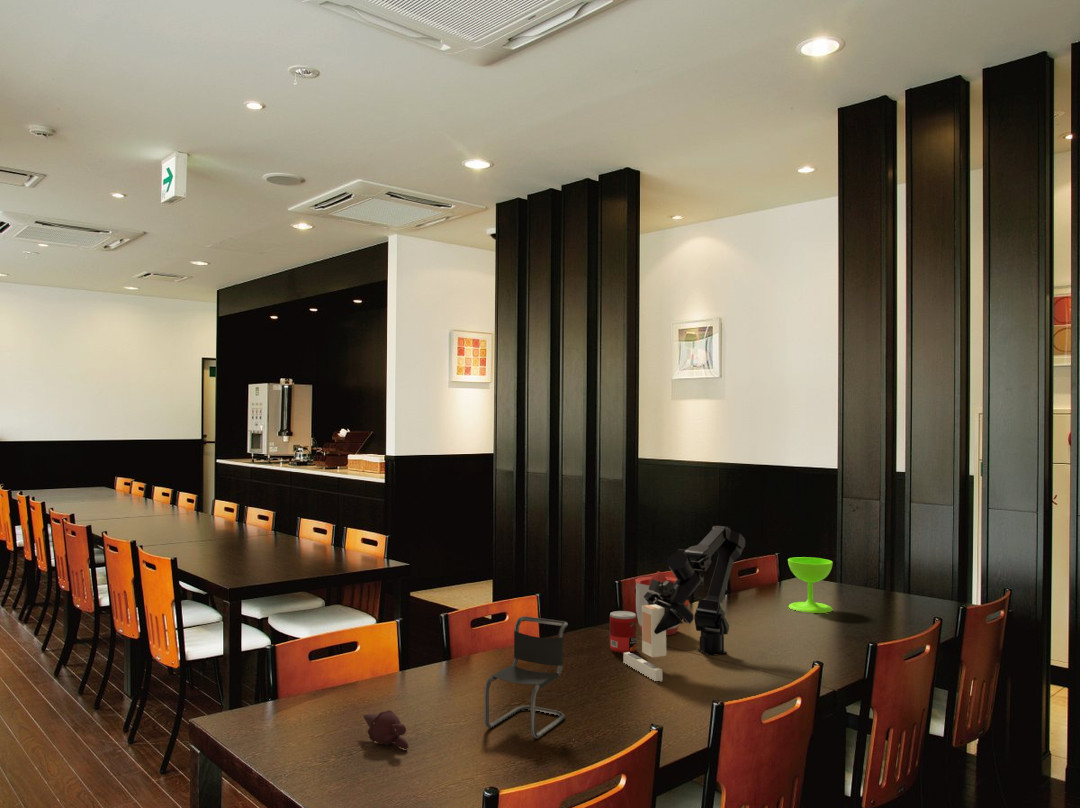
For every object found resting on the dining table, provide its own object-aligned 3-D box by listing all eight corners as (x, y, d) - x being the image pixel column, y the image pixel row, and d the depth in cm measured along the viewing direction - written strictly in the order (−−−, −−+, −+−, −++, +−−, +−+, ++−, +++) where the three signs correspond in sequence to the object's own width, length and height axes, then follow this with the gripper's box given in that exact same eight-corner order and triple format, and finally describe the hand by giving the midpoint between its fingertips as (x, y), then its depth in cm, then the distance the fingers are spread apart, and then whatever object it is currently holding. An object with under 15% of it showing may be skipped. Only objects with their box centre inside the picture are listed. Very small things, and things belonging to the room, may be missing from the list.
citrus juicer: (684, 640, 250) (684, 577, 251) (630, 635, 256) (630, 573, 257) (691, 628, 265) (691, 569, 266) (640, 624, 271) (640, 566, 271)
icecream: (347, 709, 170) (388, 734, 160) (375, 693, 175) (417, 716, 165) (352, 738, 171) (393, 764, 161) (380, 720, 177) (422, 745, 166)
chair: (570, 716, 184) (570, 621, 185) (534, 742, 169) (534, 639, 169) (521, 707, 190) (522, 615, 191) (482, 731, 175) (483, 631, 175)
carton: (656, 650, 224) (655, 603, 224) (666, 655, 219) (665, 608, 219) (641, 652, 222) (641, 605, 223) (651, 657, 217) (651, 609, 218)
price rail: (629, 662, 227) (629, 651, 227) (662, 681, 210) (662, 669, 210) (623, 663, 226) (623, 652, 226) (655, 682, 209) (655, 669, 209)
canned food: (635, 654, 235) (635, 617, 235) (608, 652, 236) (608, 615, 237) (637, 647, 242) (637, 611, 243) (611, 646, 244) (611, 610, 244)
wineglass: (839, 614, 287) (839, 564, 288) (795, 613, 288) (795, 564, 288) (824, 604, 303) (824, 557, 304) (782, 604, 304) (782, 557, 304)
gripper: (649, 563, 231) (615, 604, 227) (684, 574, 214) (649, 619, 210) (672, 588, 234) (639, 629, 230) (708, 601, 217) (674, 646, 212)
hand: (649, 630), depth 220 cm, fingers closed on carton, 5 cm apart
